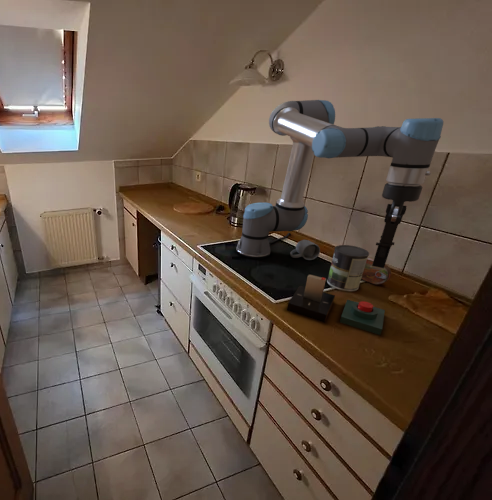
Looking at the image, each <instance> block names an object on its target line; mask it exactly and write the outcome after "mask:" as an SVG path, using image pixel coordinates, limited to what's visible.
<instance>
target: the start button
mask: <svg viewBox="0 0 492 500" xmlns="http://www.w3.org/2000/svg"><path fill="white" fill-rule="evenodd" d="M358 303H359V304H358V309H359V310H361V311H364V312H372V309H373V307H374V304H372V303H371V302H369V301H364V300H362V301H359V302H358Z"/></svg>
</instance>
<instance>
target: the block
mask: <svg viewBox="0 0 492 500" xmlns="http://www.w3.org/2000/svg"><path fill="white" fill-rule="evenodd" d="M358 304H359V302H358V301H354V300H351V299H346V302H345V304H344V307H343V310H342V314H341V316H340V319H339V323H341V324H344V325H347V326H350V327H353V328H356V329H359V330H363V331H365V332H369V333H371V334H375V335H378V336H381V335H382V331H383V326H384V320H385V309H383V308H379V307H376V306H373V309H372V312H364V311H361V310H359V309H358Z"/></svg>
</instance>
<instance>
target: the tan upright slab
mask: <svg viewBox="0 0 492 500" xmlns="http://www.w3.org/2000/svg"><path fill="white" fill-rule="evenodd" d="M326 283H327V278H326V277H323V276H322V277H321V276H317V275H314V274H308V275H307V277H306V282H305V286H304V287H305V291H304V296H303V298H306V299H310V300H313V301H317V302H321V299H322V295H323V292H324V290H325V286H326Z"/></svg>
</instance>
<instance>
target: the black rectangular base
mask: <svg viewBox="0 0 492 500" xmlns="http://www.w3.org/2000/svg"><path fill="white" fill-rule="evenodd" d="M305 287H306V286H302V285H299V286H298V287H297V289H296V290H295V292H294V293H293V295H292V296H291V298H290V299H289V300H288V303H287V307H286V311H288V312H291V313H294V314H297V315H300V316H303V317H306V318H309V319H312V320H315V321H318V322H321V323H326V321H327V319H328V316H329V314H330V312H331V309H332V307H333V304H334V301H335V297H336V295H335V294H332V293H329V292H324V291H323V295H322V299H321V302H317V301H313V300H310V299H306V298H303V296H304V291H305Z"/></svg>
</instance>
